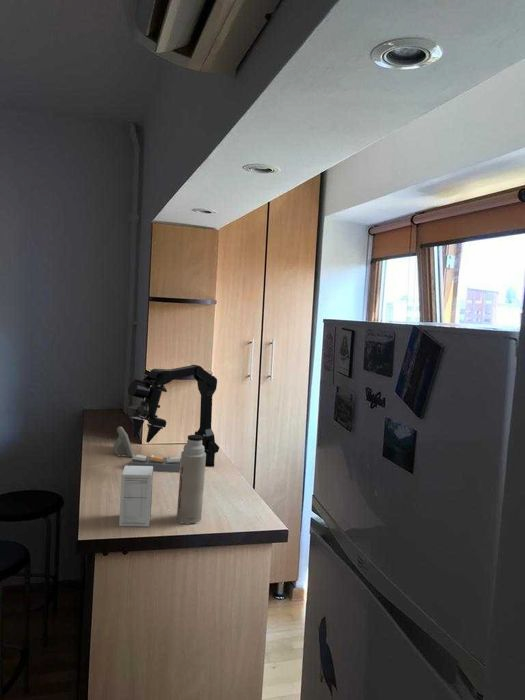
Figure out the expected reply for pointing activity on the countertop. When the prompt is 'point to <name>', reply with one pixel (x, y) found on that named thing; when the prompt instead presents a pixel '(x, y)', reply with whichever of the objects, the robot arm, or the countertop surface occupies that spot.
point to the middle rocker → (156, 458)
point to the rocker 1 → (139, 457)
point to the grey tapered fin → (123, 444)
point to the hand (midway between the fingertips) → (140, 439)
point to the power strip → (158, 464)
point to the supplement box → (136, 496)
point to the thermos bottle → (191, 480)
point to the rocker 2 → (173, 459)
